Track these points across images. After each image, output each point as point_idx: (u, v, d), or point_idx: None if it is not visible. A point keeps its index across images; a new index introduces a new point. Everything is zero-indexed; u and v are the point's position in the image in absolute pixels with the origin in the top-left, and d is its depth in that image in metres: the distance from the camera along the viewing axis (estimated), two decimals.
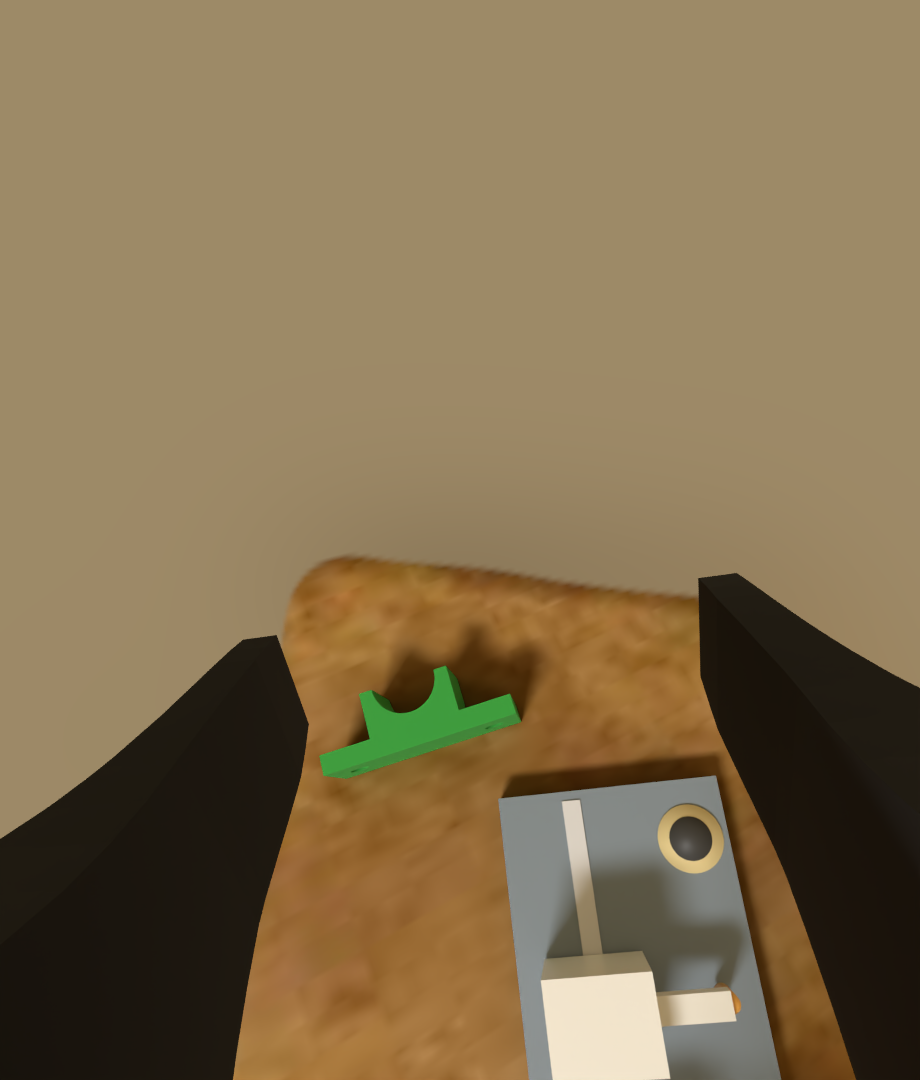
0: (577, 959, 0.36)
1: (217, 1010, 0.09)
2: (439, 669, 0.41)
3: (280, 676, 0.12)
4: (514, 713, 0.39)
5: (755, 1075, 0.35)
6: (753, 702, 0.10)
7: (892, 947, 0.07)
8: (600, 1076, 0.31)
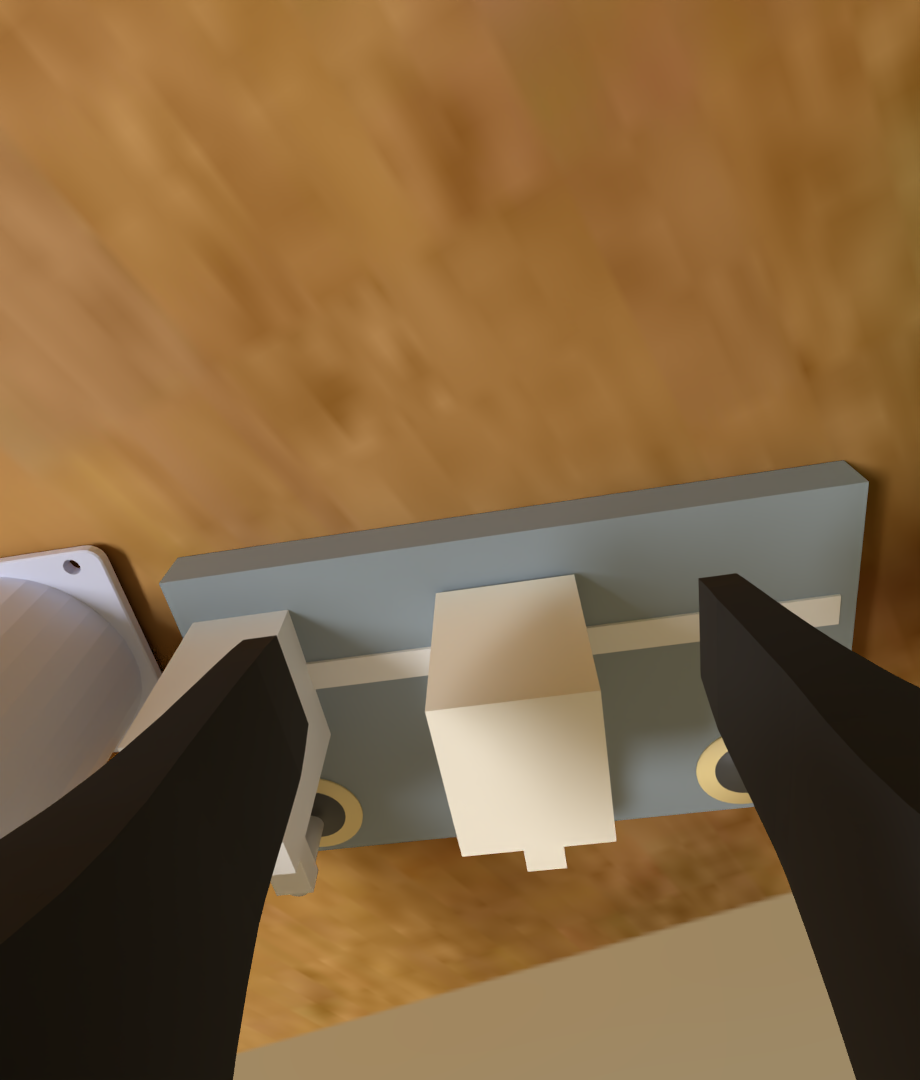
0: None
1: (217, 1010, 0.09)
2: None
3: (280, 676, 0.12)
4: None
5: (440, 816, 0.26)
6: (753, 702, 0.10)
7: (892, 947, 0.07)
8: (451, 775, 0.17)
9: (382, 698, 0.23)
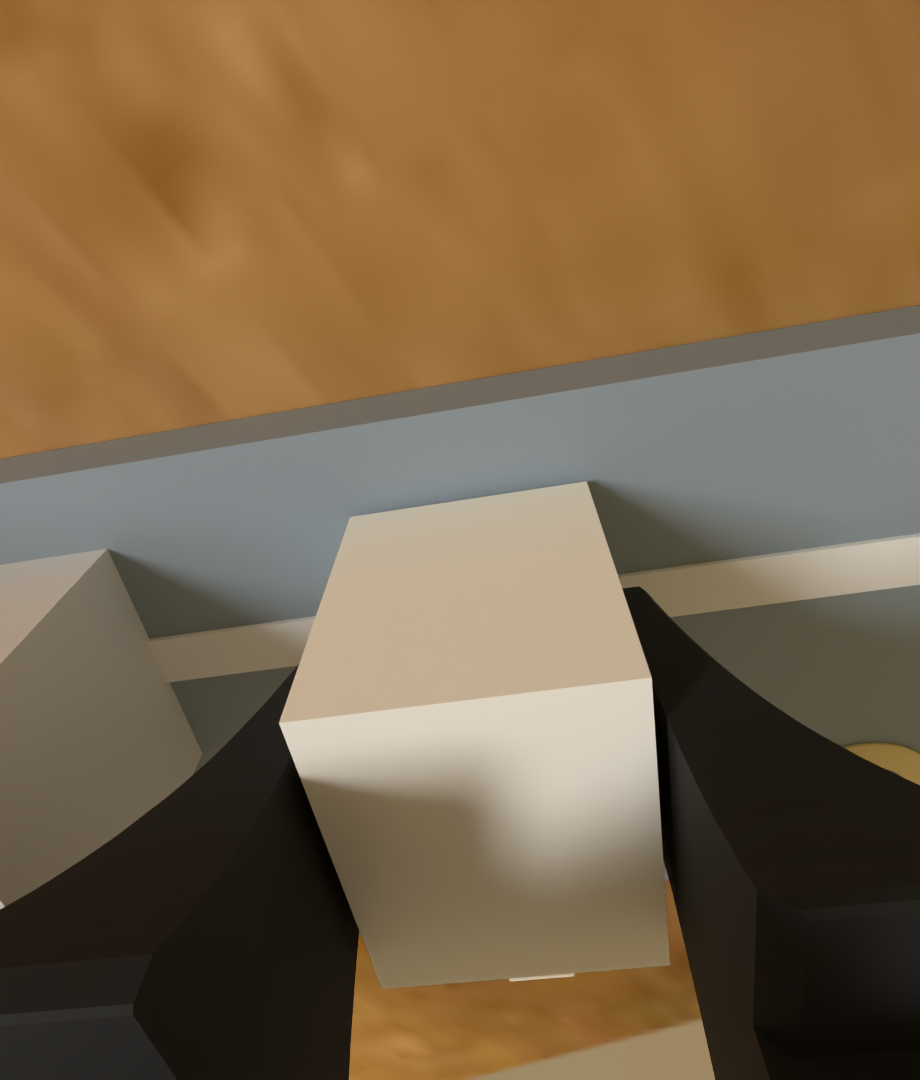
0: None
1: (334, 1000, 0.09)
2: None
3: None
4: None
5: None
6: None
7: (721, 961, 0.07)
8: (347, 848, 0.09)
9: None
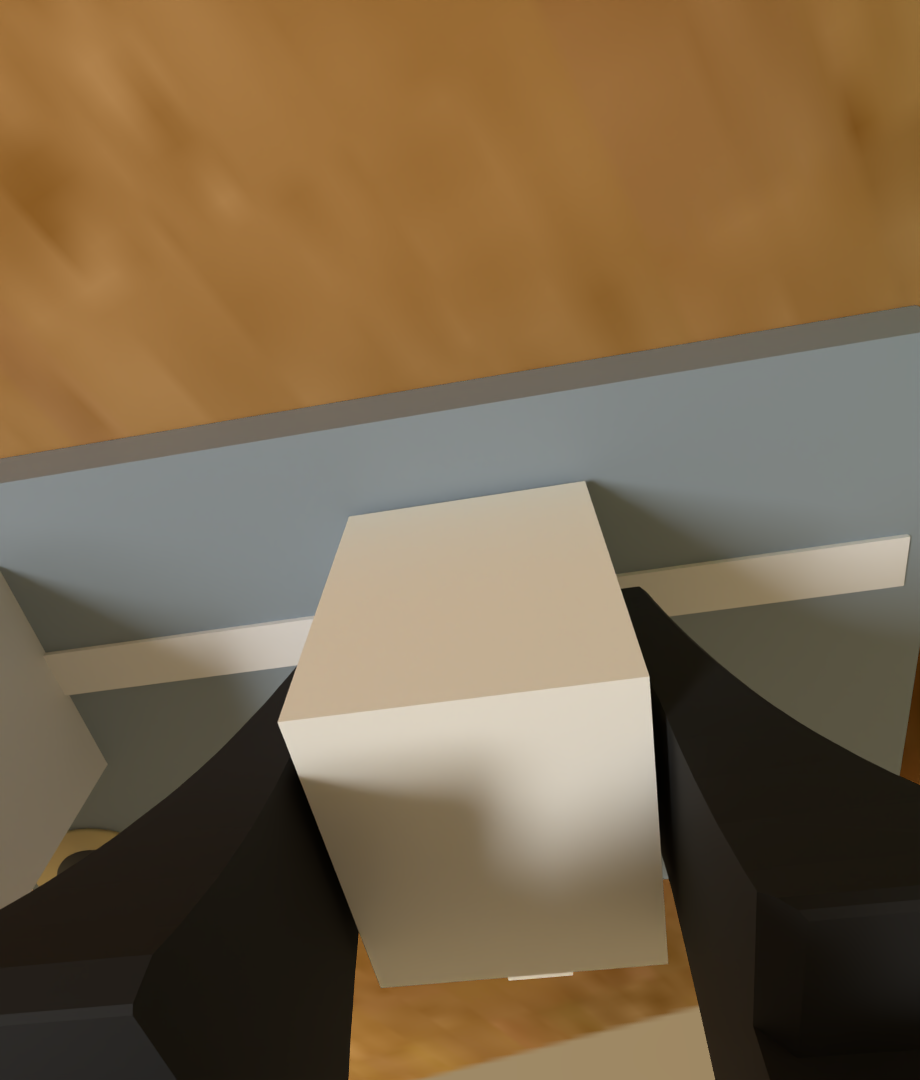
0: None
1: (334, 1000, 0.09)
2: None
3: None
4: None
5: None
6: None
7: (722, 961, 0.07)
8: (345, 847, 0.09)
9: (176, 709, 0.15)
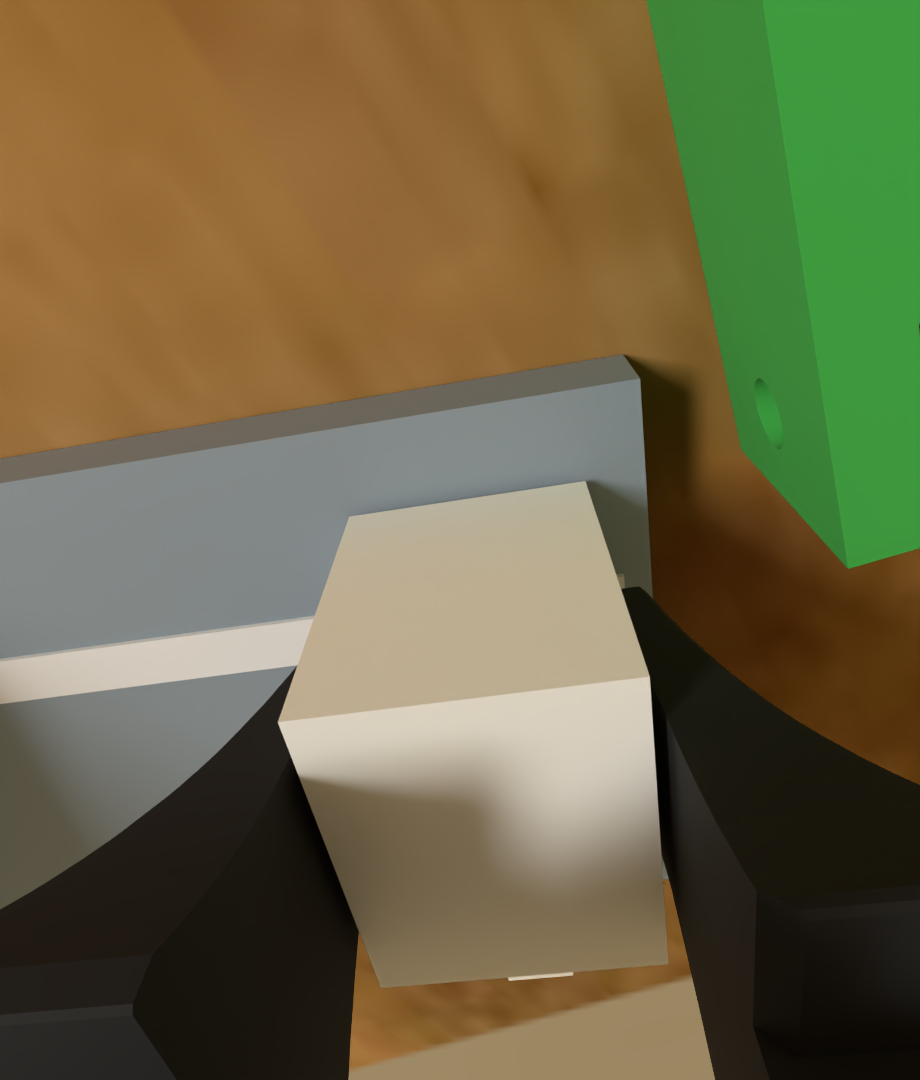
0: None
1: (334, 1000, 0.09)
2: None
3: None
4: (846, 559, 0.10)
5: None
6: None
7: (721, 961, 0.07)
8: (345, 847, 0.09)
9: None
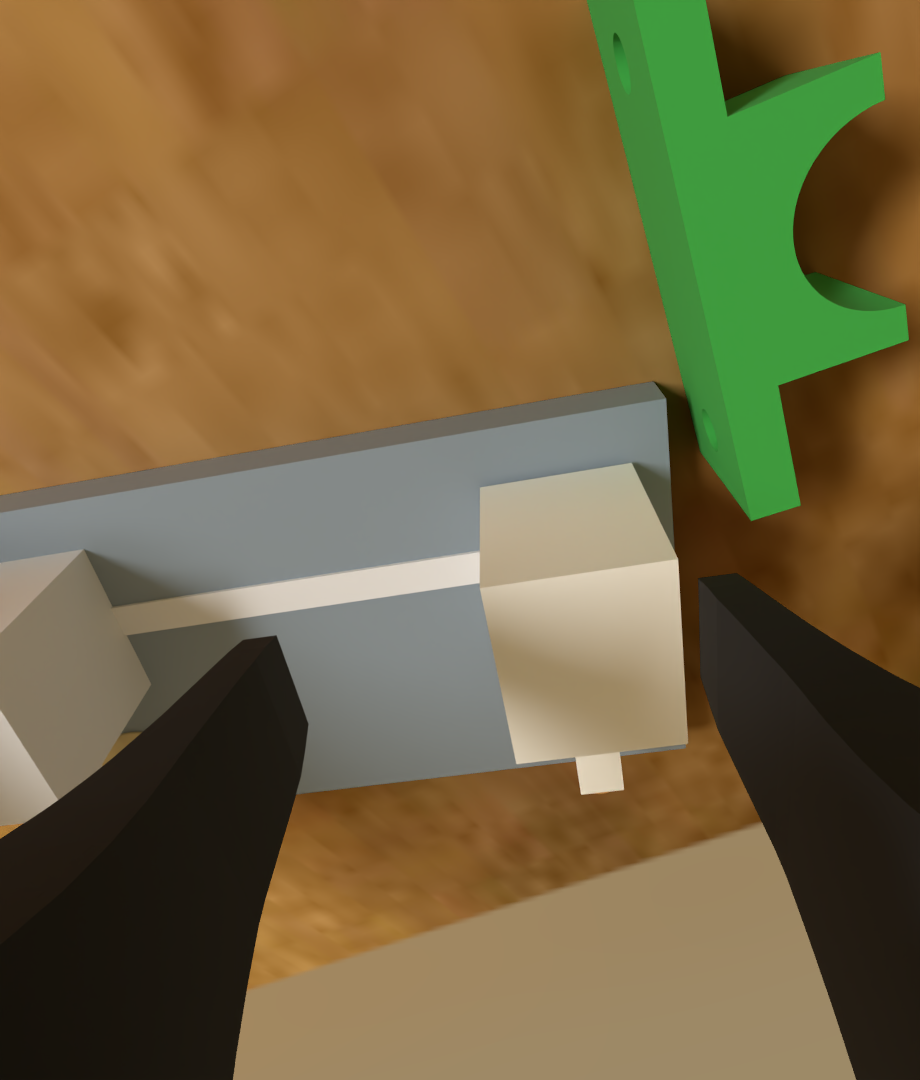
0: None
1: (217, 1010, 0.09)
2: (902, 323, 0.14)
3: (280, 676, 0.12)
4: (750, 515, 0.17)
5: None
6: (753, 702, 0.10)
7: (892, 947, 0.07)
8: (507, 665, 0.16)
9: (197, 644, 0.22)
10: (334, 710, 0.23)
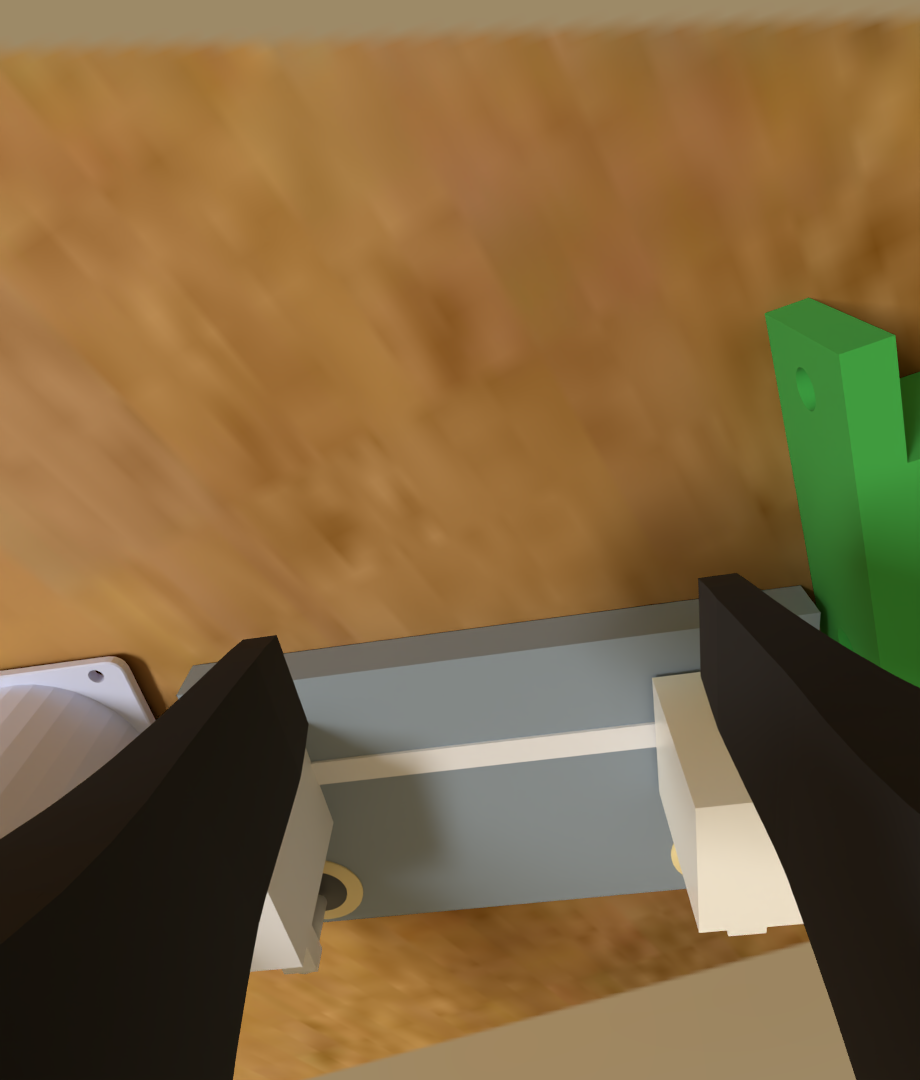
0: None
1: (217, 1010, 0.09)
2: None
3: (280, 676, 0.12)
4: None
5: (434, 892, 0.28)
6: (753, 702, 0.10)
7: (892, 947, 0.07)
8: (706, 862, 0.19)
9: (380, 792, 0.25)
10: (494, 844, 0.26)
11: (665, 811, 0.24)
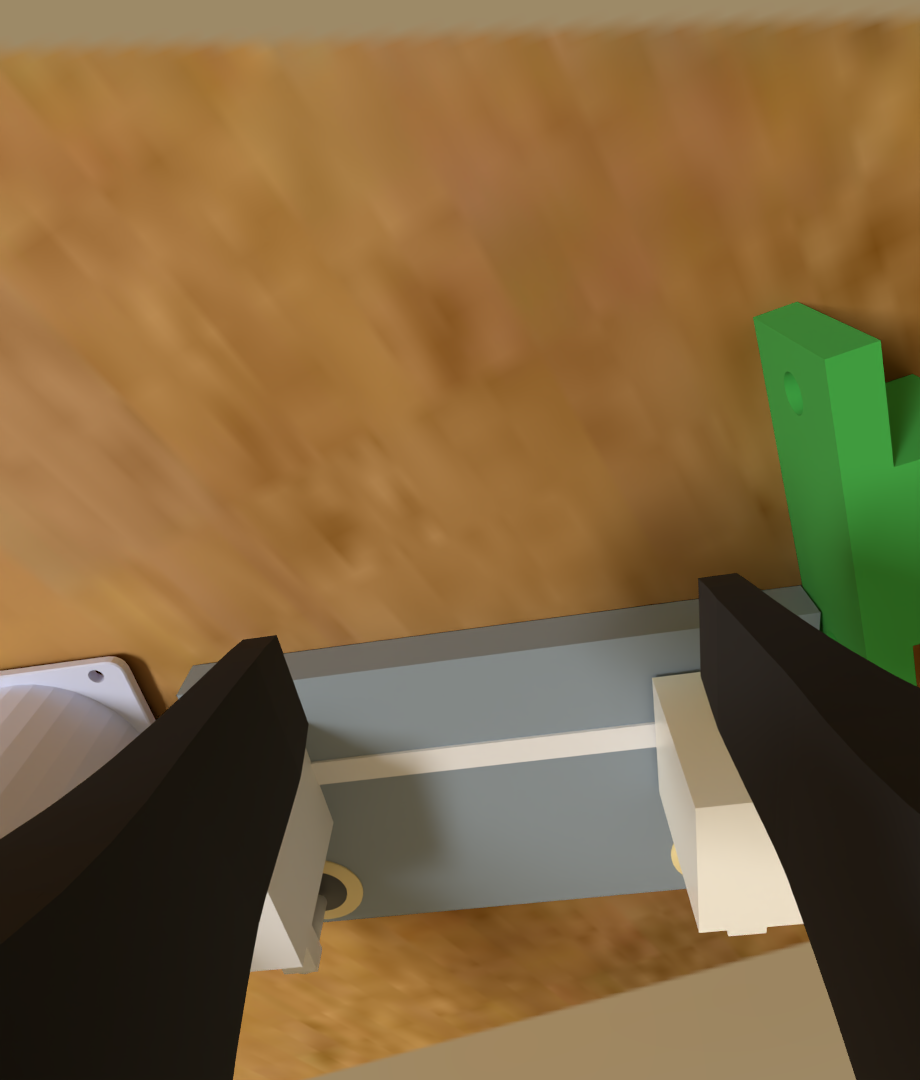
0: None
1: (217, 1010, 0.09)
2: None
3: (280, 676, 0.12)
4: None
5: (434, 892, 0.28)
6: (753, 702, 0.10)
7: (892, 947, 0.07)
8: (706, 862, 0.19)
9: (380, 792, 0.25)
10: (494, 844, 0.26)
11: (665, 811, 0.24)
